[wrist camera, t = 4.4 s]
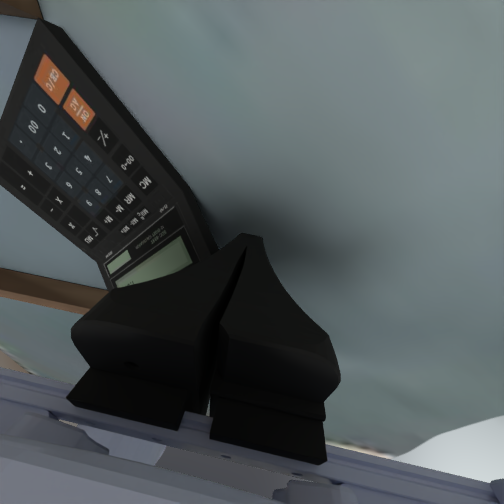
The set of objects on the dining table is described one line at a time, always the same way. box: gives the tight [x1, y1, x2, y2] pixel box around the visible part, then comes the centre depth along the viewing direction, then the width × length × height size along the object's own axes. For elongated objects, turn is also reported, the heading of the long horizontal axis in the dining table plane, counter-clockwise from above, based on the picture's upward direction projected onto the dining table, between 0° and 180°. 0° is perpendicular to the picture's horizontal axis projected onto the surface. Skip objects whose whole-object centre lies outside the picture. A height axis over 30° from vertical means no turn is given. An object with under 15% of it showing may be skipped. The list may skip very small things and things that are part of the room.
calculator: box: [0, 17, 219, 292], centre depth 10 cm, size 9×12×3 cm
